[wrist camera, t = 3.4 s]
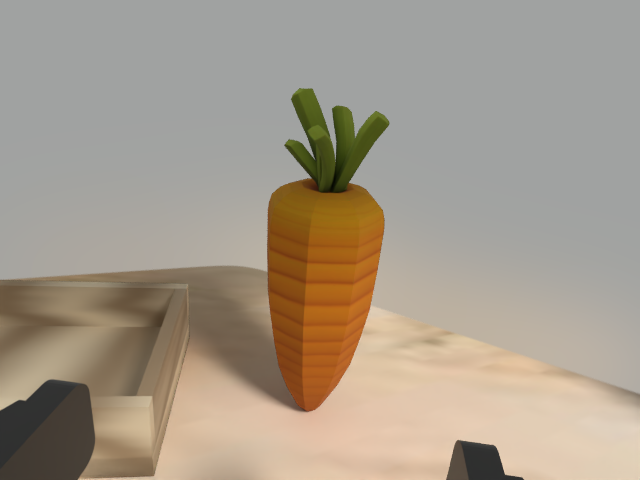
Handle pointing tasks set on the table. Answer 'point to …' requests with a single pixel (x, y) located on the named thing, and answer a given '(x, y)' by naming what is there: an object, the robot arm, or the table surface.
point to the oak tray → (100, 358)
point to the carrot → (322, 253)
